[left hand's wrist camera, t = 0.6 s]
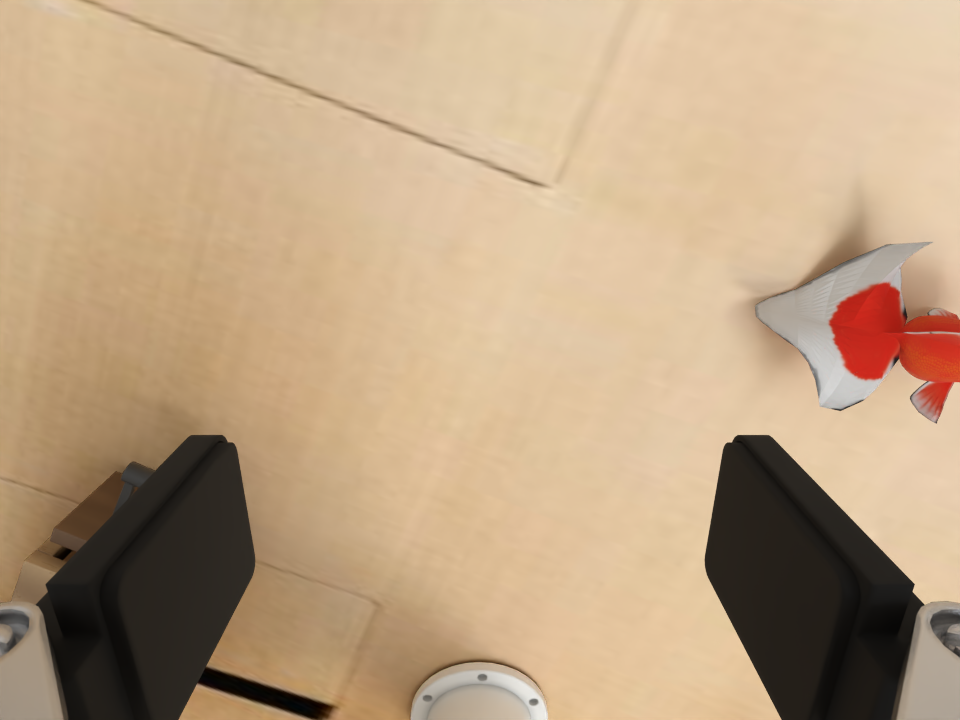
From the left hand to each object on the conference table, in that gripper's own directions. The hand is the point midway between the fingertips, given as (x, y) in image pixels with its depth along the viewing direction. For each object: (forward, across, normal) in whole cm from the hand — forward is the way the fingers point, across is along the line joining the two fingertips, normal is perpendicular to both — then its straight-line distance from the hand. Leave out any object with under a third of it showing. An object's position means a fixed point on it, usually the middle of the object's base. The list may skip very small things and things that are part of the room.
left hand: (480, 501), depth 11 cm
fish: (+30, +26, -6) cm, 40 cm away
